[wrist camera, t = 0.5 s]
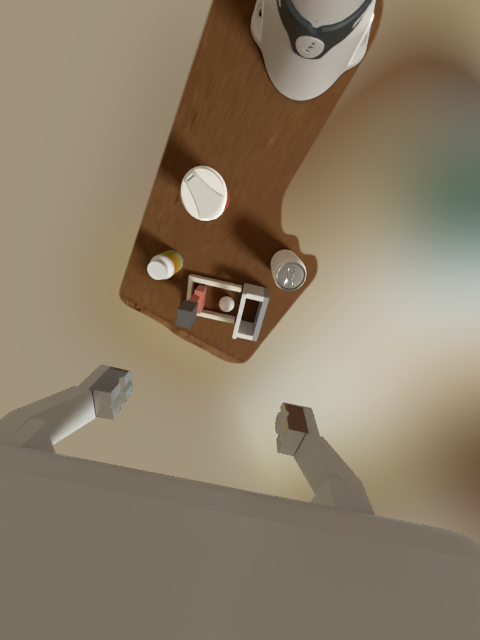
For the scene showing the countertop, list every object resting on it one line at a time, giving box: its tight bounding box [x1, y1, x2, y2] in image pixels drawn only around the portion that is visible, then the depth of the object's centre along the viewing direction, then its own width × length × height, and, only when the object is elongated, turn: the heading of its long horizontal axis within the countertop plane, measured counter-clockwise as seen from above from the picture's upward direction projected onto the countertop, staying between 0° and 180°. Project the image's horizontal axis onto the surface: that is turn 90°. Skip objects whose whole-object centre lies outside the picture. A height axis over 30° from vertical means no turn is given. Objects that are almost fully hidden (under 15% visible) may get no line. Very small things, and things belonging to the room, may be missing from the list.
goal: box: [232, 283, 269, 341], centre depth 53 cm, size 12×6×8 cm, turn 168°
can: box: [271, 250, 306, 291], centre depth 46 cm, size 6×6×12 cm
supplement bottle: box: [147, 250, 183, 280], centre depth 48 cm, size 5×5×10 cm
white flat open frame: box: [187, 274, 242, 324], centre depth 56 cm, size 10×13×2 cm
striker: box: [176, 285, 207, 328], centre depth 50 cm, size 6×3×14 cm, turn 168°
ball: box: [219, 296, 234, 312], centre depth 55 cm, size 4×4×4 cm
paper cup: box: [181, 166, 230, 221], centre depth 39 cm, size 8×8×14 cm
